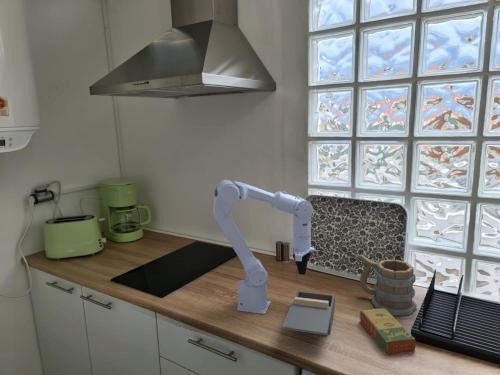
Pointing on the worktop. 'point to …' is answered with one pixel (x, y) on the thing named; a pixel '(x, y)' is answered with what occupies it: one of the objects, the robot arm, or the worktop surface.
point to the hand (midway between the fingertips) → (302, 273)
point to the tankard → (390, 285)
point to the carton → (387, 331)
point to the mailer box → (320, 297)
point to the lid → (308, 316)
